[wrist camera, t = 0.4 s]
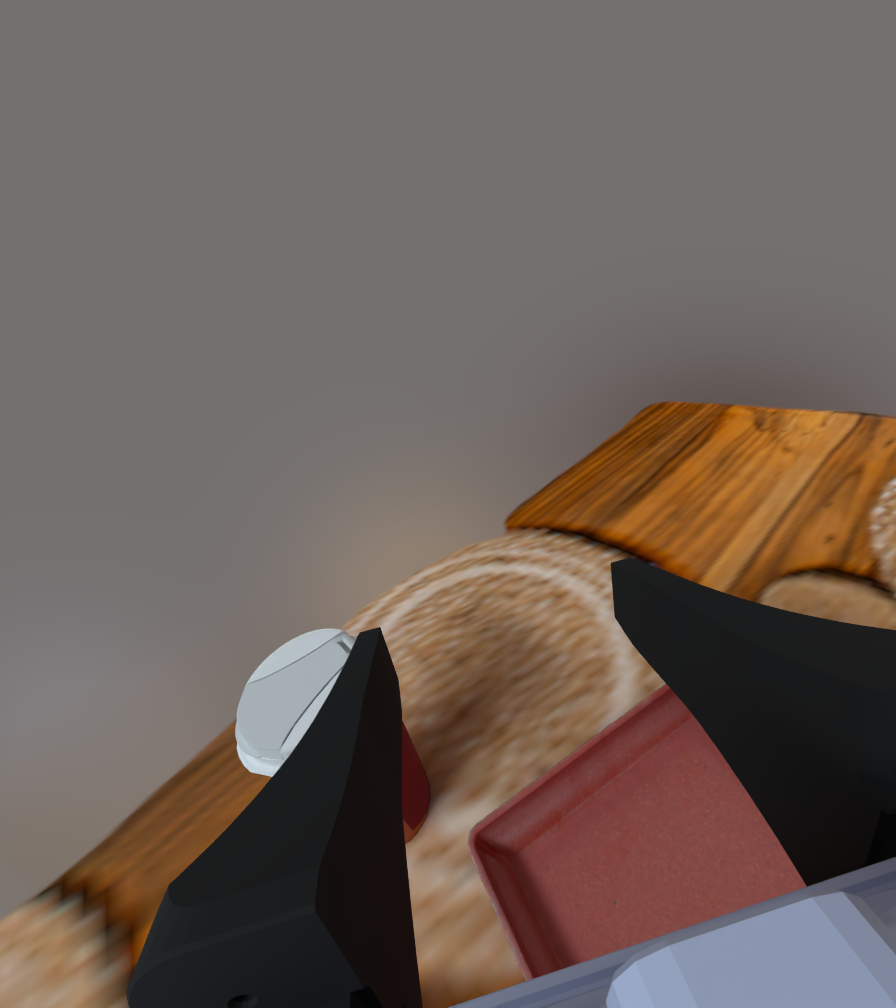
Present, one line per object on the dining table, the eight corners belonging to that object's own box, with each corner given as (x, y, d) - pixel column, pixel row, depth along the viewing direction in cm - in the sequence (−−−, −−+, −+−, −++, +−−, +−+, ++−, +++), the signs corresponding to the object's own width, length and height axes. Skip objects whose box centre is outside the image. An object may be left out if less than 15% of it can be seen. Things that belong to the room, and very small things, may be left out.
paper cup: (403, 722, 33) (330, 601, 25) (469, 796, 27) (401, 668, 20) (318, 807, 29) (206, 694, 22) (374, 912, 24) (249, 808, 16)
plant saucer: (1152, 1079, 15) (1219, 1071, 13) (826, 1653, 10) (861, 1758, 8) (688, 691, 29) (691, 663, 28) (474, 855, 25) (460, 834, 23)
